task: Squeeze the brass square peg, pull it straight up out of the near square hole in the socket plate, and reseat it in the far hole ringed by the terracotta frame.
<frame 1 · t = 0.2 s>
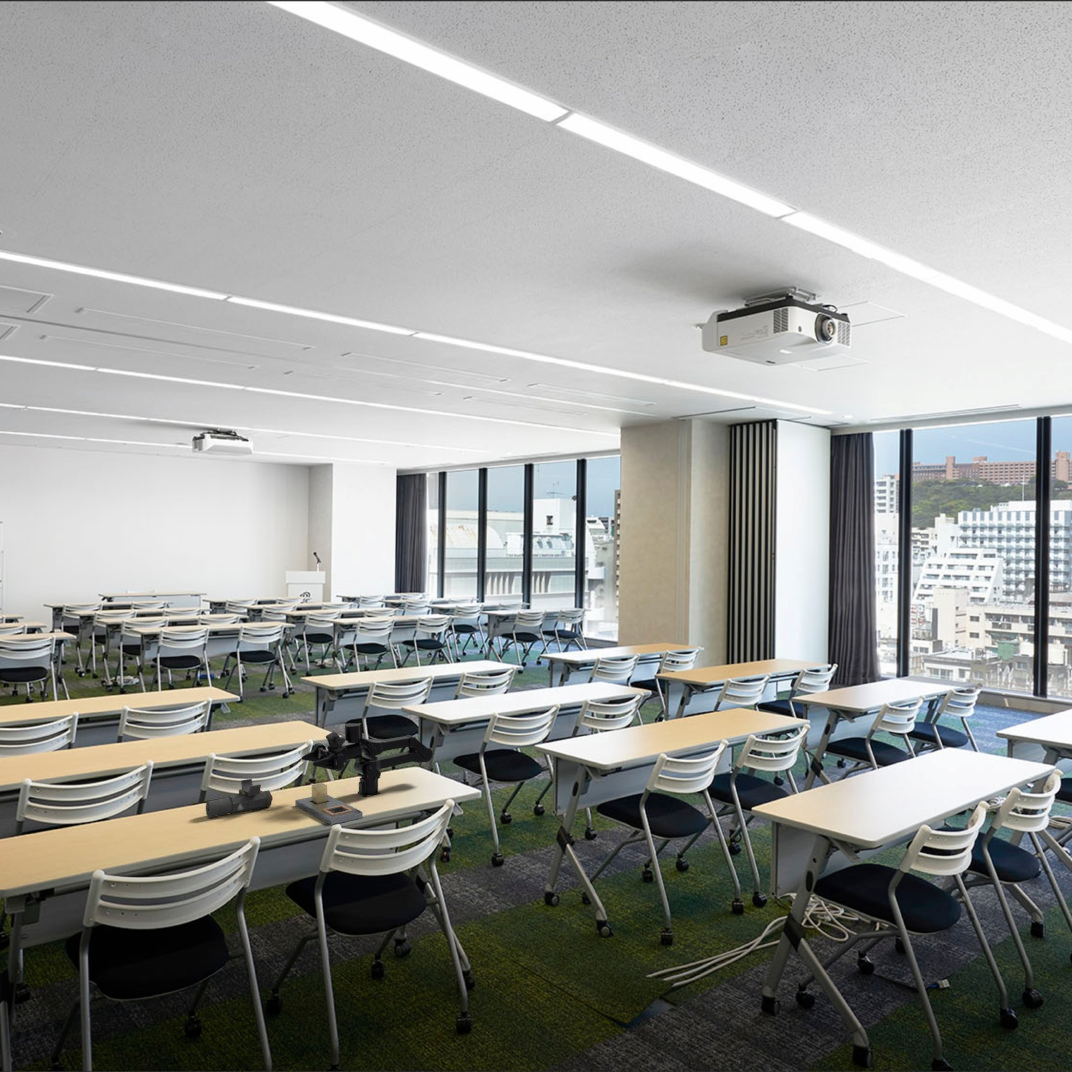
hand: (307, 761, 308), 17 cm above the table, tool horizontal, fingers open, 9 cm apart
brass peg: (319, 807, 308), resting in socket plate
laser sight: (240, 812, 302), on the table
socket plate: (328, 811, 302), on the table
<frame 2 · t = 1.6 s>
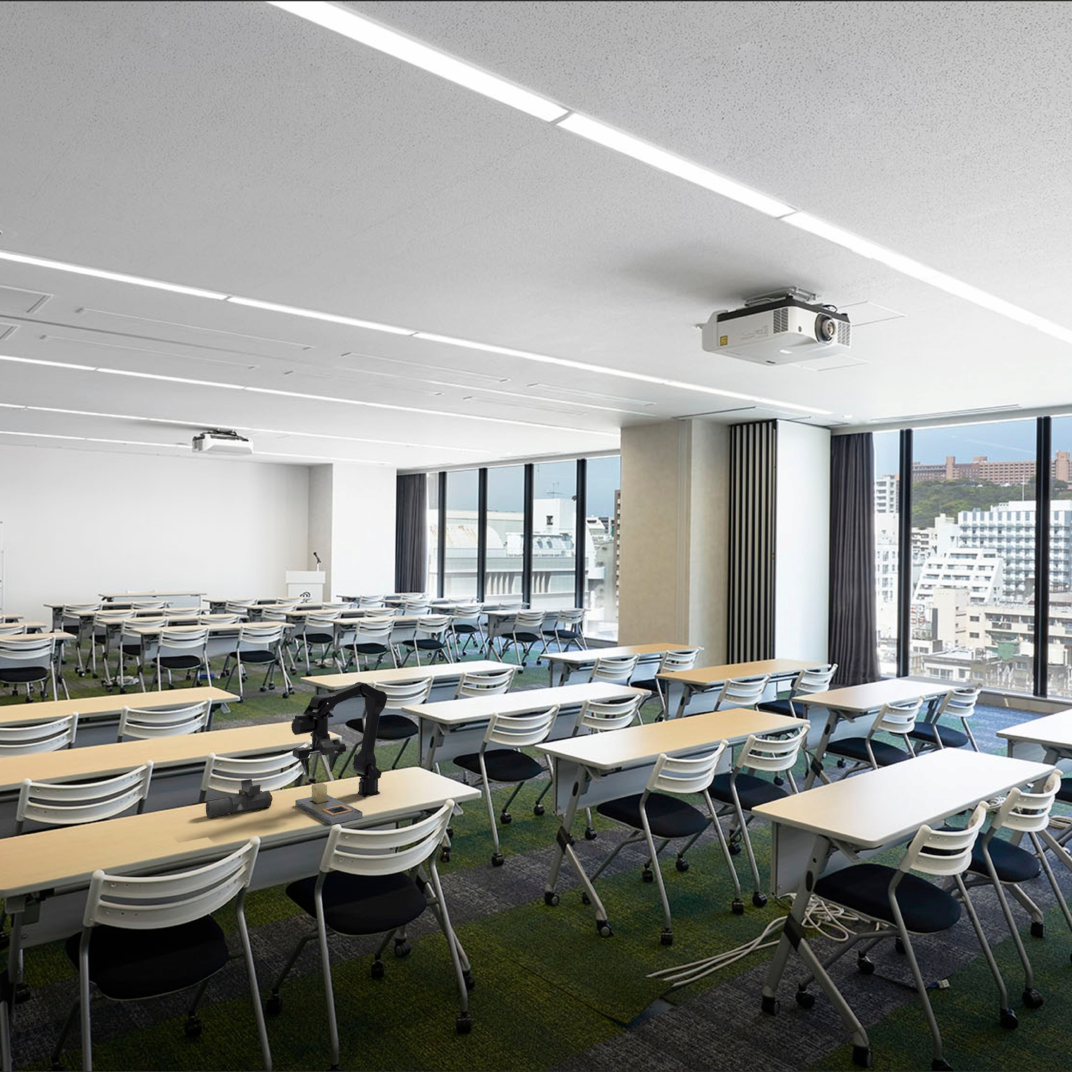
hand: (319, 773, 308), 12 cm above the table, tool pointing down, fingers open, 9 cm apart
nothing on the table moved.
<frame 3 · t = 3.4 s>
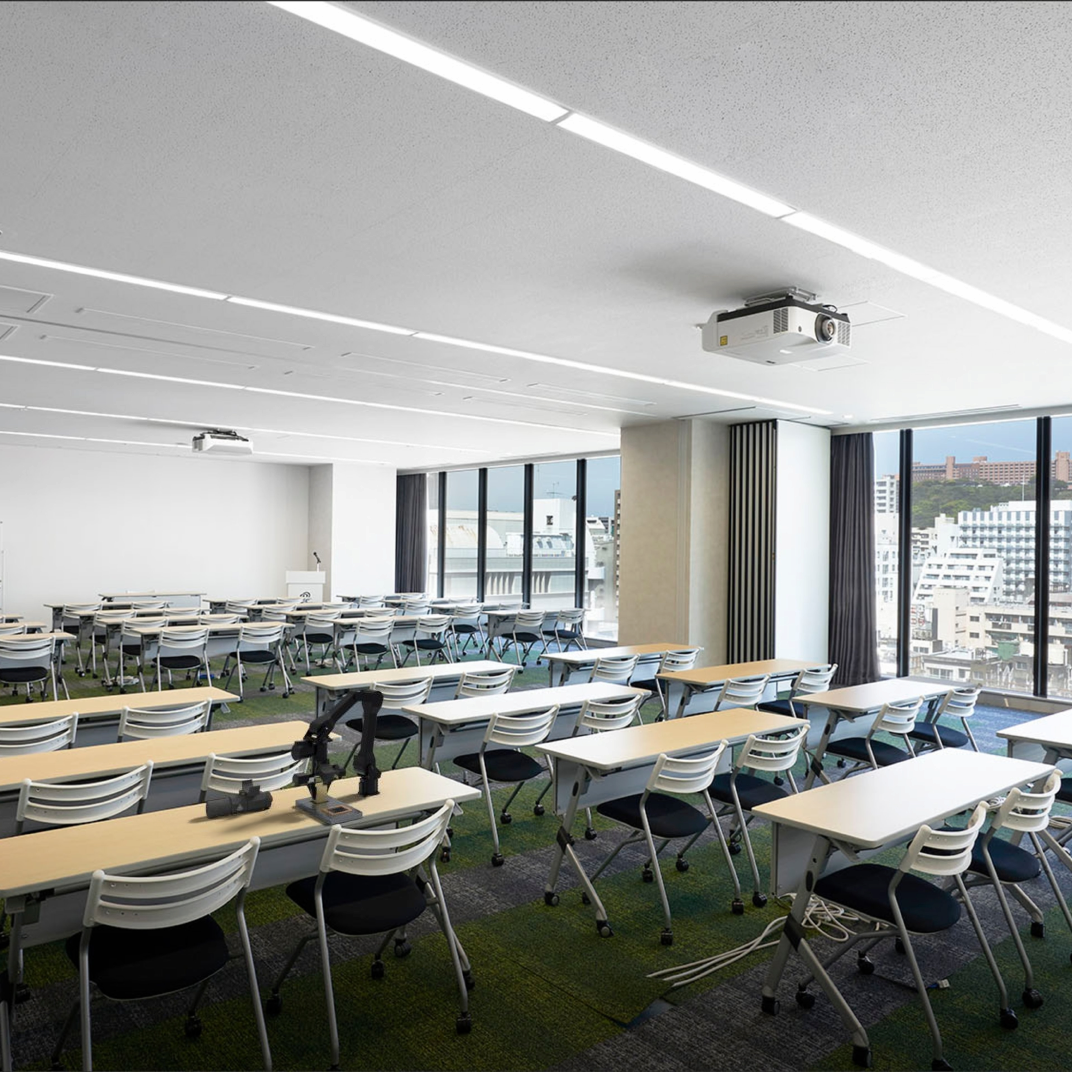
hand: (319, 798, 308), 3 cm above the table, tool pointing down, fingers closed on brass peg, 4 cm apart
brass peg: (319, 806, 308), resting in socket plate, touching gripper
everything else where it was.
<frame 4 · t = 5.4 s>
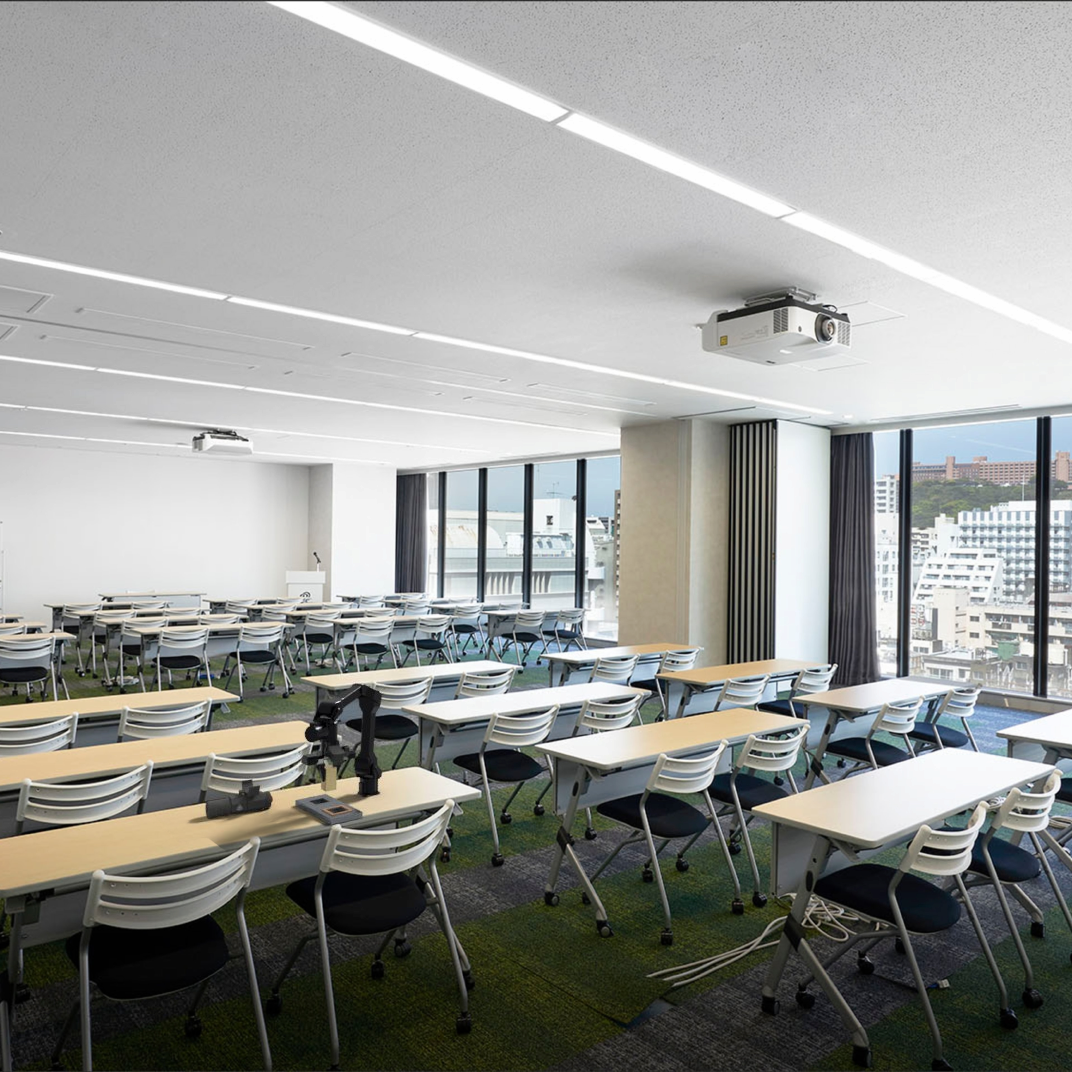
hand: (328, 780, 301), 11 cm above the table, tool pointing down, fingers closed on brass peg, 4 cm apart
brass peg: (328, 789, 301), point 8 cm above the table, touching gripper
everything else where it was.
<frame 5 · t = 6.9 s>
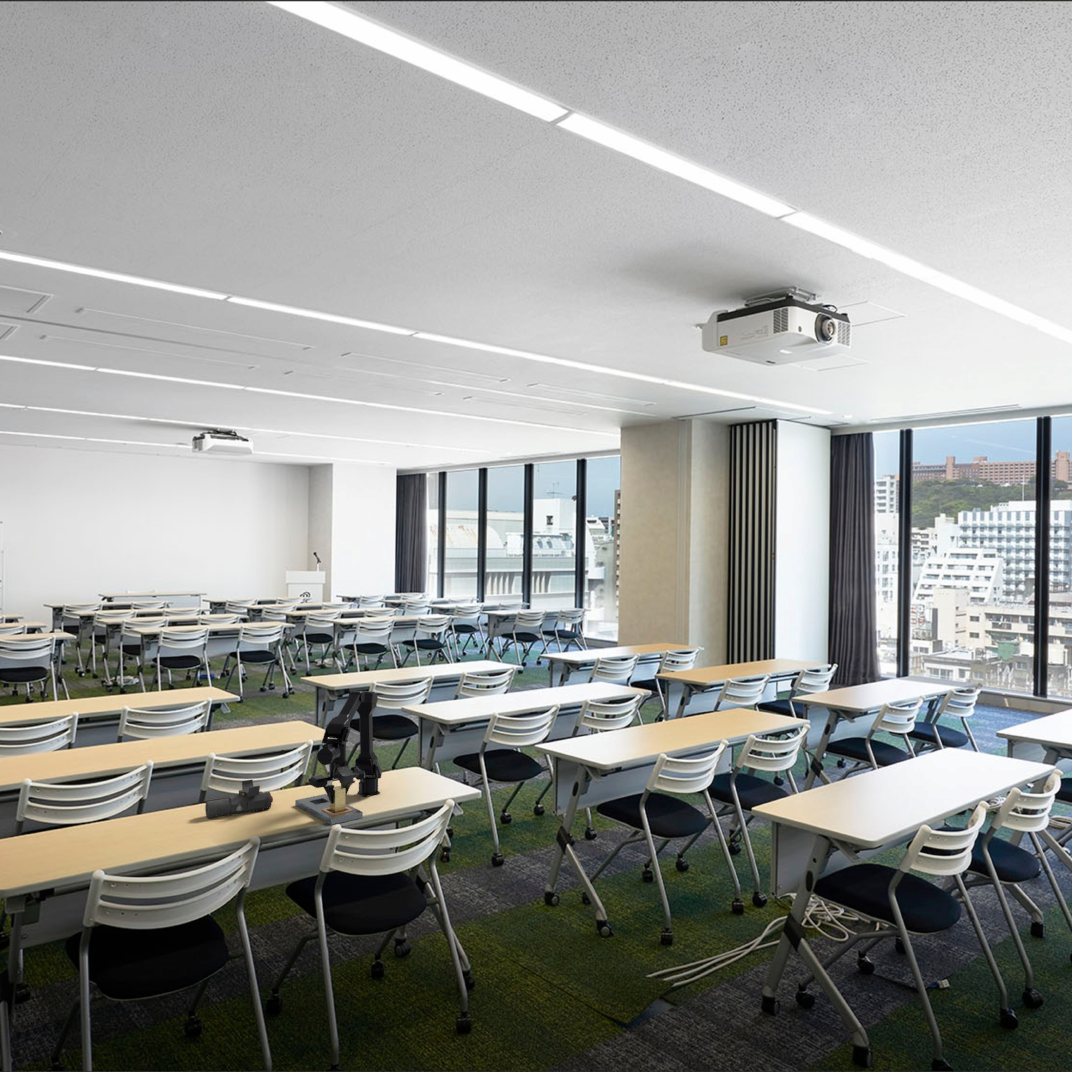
hand: (337, 802, 297), 5 cm above the table, tool pointing down, fingers closed on brass peg, 4 cm apart
brass peg: (337, 810, 297), point 2 cm above the table, touching gripper
everything else where it was.
when the fingers open (4 cm above the table, at t = 7.7 s): brass peg drops 1 cm, resting in socket plate.
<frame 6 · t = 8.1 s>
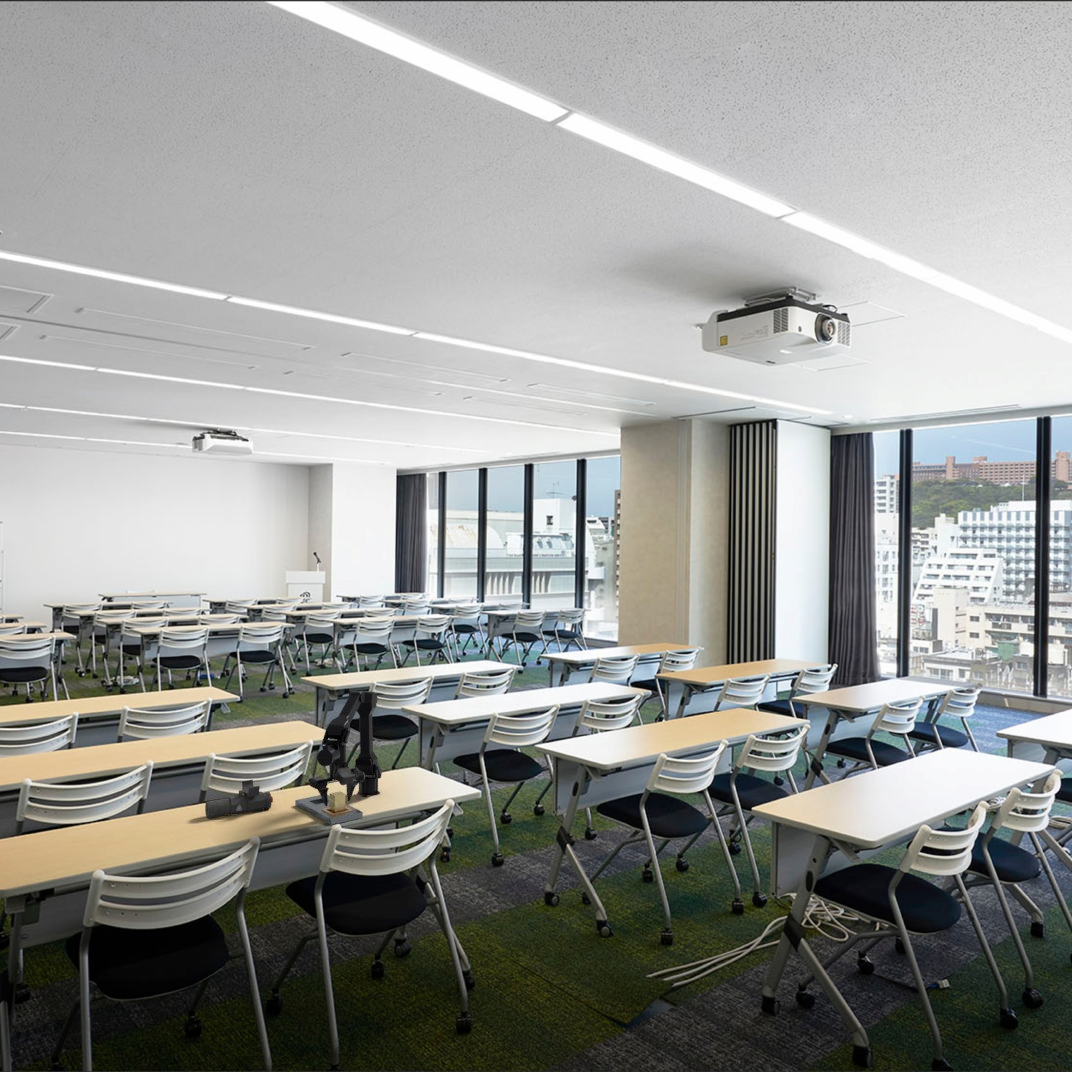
hand: (337, 803, 297), 4 cm above the table, tool pointing down, fingers open, 8 cm apart
brass peg: (337, 816, 297), resting in socket plate
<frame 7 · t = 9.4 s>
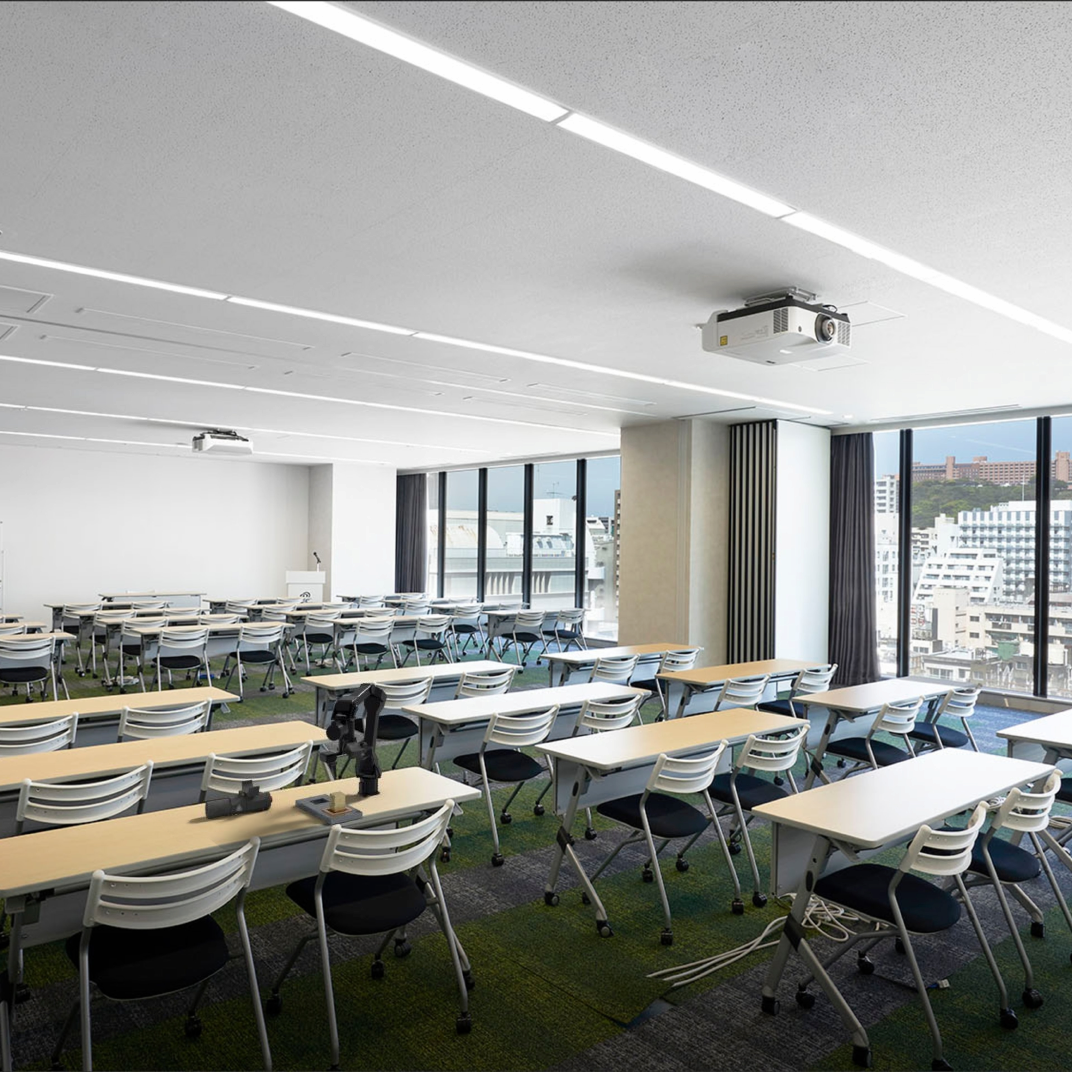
hand: (346, 776, 306), 11 cm above the table, tool pointing down, fingers open, 9 cm apart
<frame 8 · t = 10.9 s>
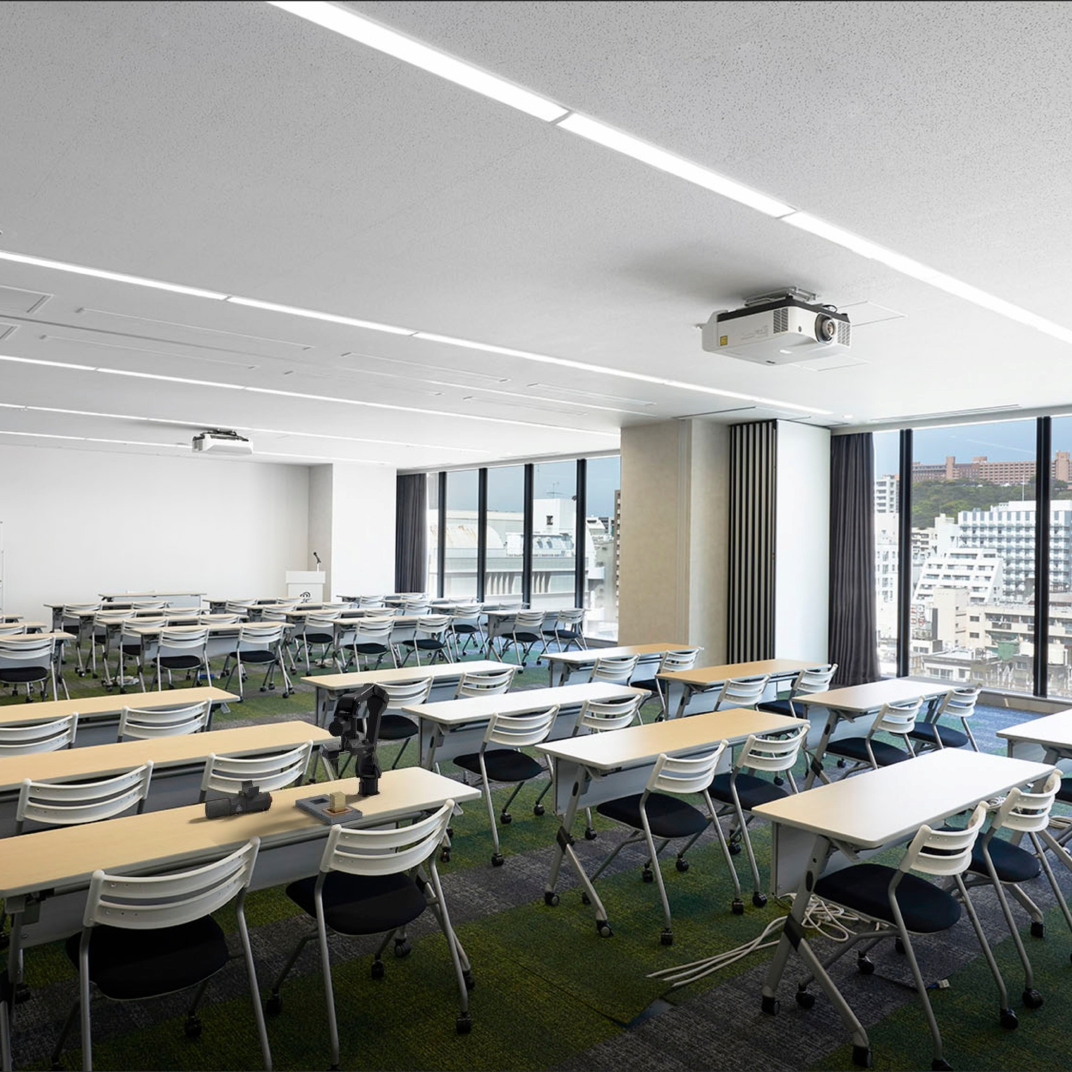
hand: (348, 774, 308), 12 cm above the table, tool pointing down, fingers open, 9 cm apart
at the end: brass peg 0.0 cm from the target spot on the socket plate, point 0.0 cm above the socket plate's base; brass peg tilted 0°; the gripper is holding nothing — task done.
